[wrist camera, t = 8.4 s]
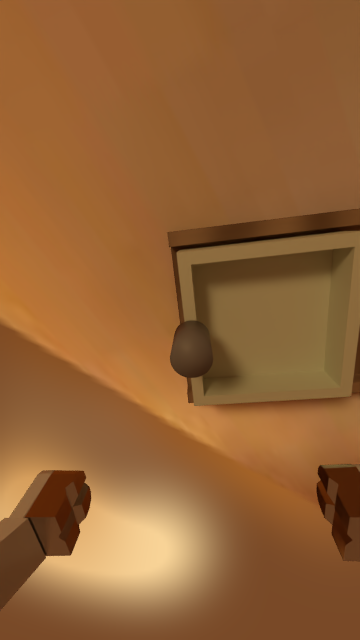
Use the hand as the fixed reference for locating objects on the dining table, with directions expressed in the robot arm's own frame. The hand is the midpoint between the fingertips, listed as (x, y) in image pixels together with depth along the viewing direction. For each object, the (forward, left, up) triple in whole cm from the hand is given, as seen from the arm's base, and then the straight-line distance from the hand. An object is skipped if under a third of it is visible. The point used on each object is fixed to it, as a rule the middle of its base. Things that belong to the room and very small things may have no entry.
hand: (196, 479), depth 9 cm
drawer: (-6, 0, -17) cm, 18 cm away
